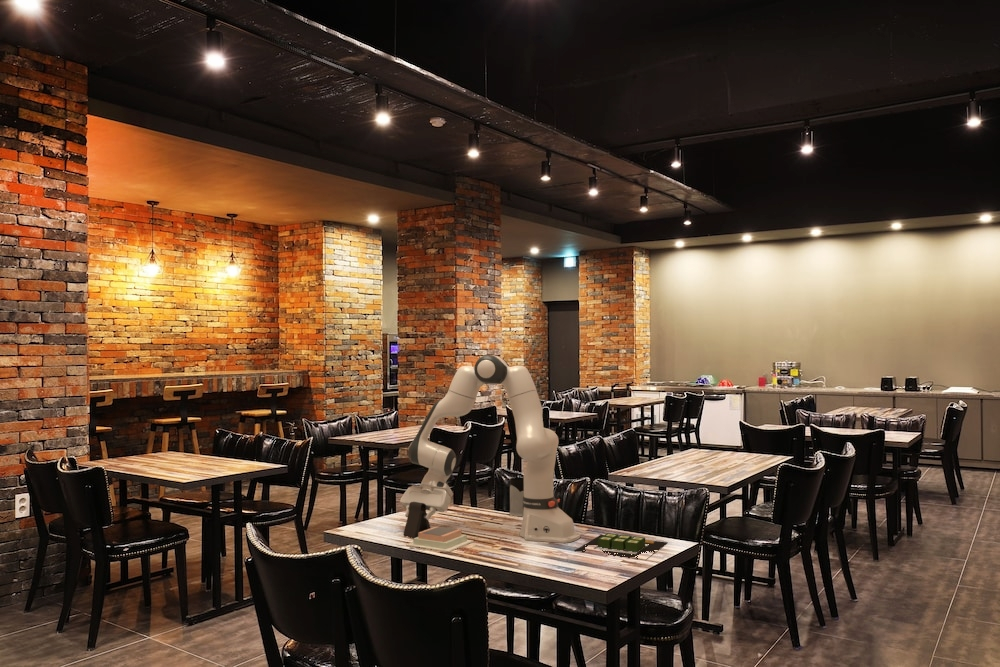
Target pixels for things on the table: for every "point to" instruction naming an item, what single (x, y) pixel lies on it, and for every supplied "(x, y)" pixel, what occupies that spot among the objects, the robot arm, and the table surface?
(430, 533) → the base
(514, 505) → the glass holder
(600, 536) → the sushi
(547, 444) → the robot arm
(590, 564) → the table surface
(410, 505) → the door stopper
